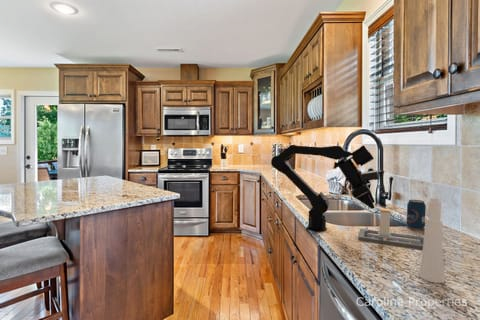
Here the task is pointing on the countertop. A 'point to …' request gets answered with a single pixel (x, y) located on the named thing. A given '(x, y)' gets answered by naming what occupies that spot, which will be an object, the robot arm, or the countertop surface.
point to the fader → (384, 222)
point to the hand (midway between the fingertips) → (373, 205)
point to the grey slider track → (392, 238)
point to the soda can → (416, 214)
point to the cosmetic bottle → (433, 245)
